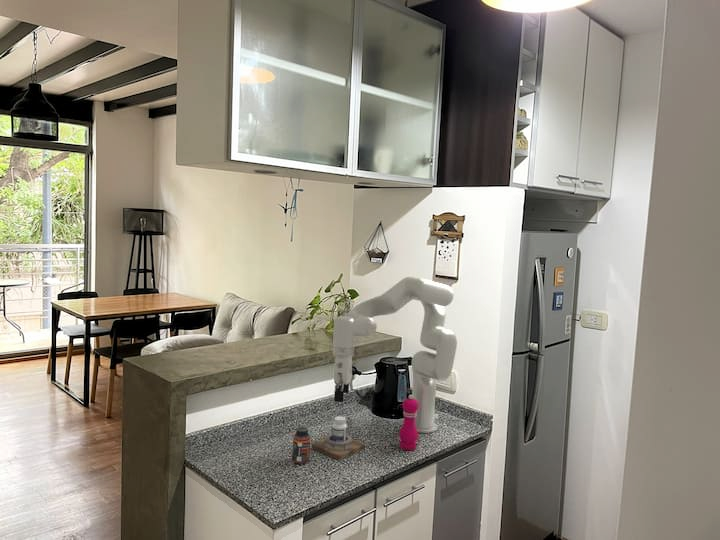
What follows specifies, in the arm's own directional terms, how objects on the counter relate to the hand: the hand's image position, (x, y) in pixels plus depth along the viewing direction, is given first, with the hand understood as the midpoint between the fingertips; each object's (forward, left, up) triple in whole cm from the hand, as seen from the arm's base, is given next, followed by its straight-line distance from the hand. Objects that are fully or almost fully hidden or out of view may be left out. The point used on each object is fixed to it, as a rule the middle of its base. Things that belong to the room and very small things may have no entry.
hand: (341, 397), depth 193 cm
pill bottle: (0, 0, -18) cm, 18 cm away
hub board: (0, 0, -19) cm, 19 cm away
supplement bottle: (+17, -2, -19) cm, 26 cm away
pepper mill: (-20, +17, -19) cm, 32 cm away
